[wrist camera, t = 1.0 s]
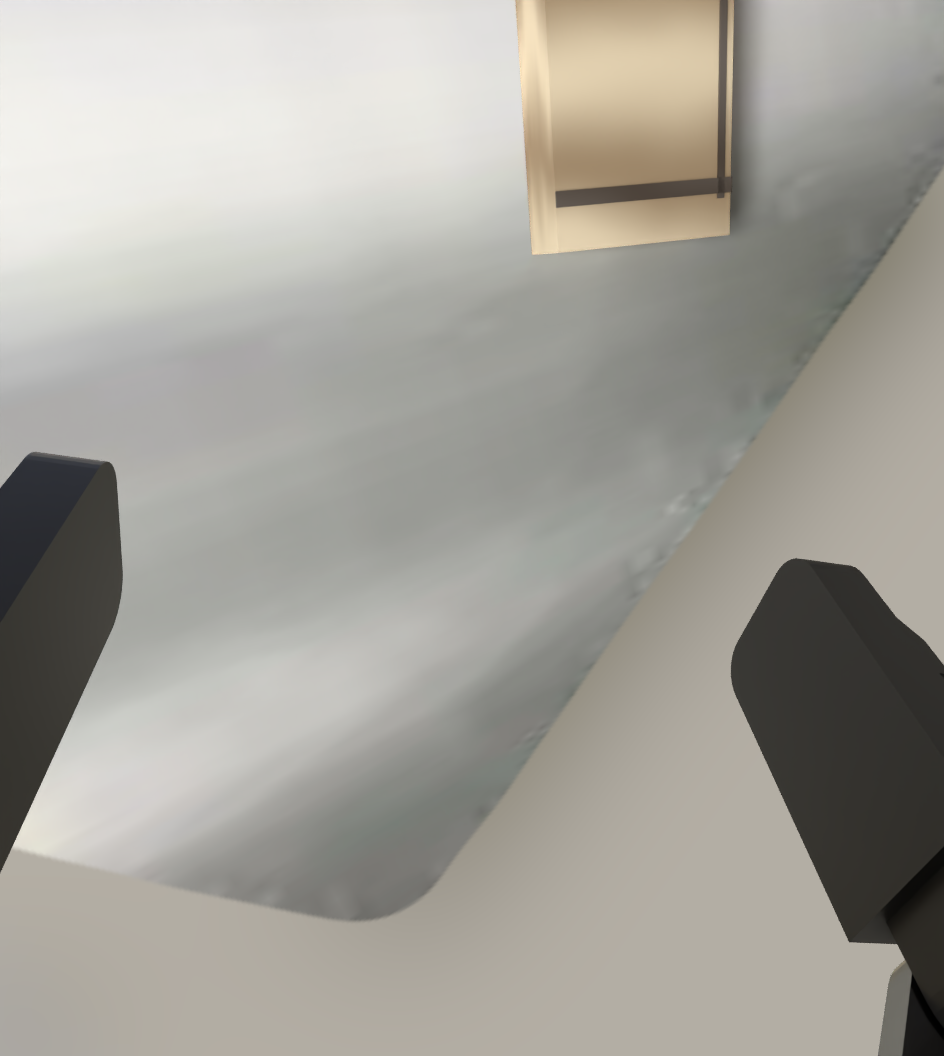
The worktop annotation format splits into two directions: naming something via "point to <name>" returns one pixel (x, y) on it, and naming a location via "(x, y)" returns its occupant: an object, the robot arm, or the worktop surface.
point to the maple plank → (626, 120)
